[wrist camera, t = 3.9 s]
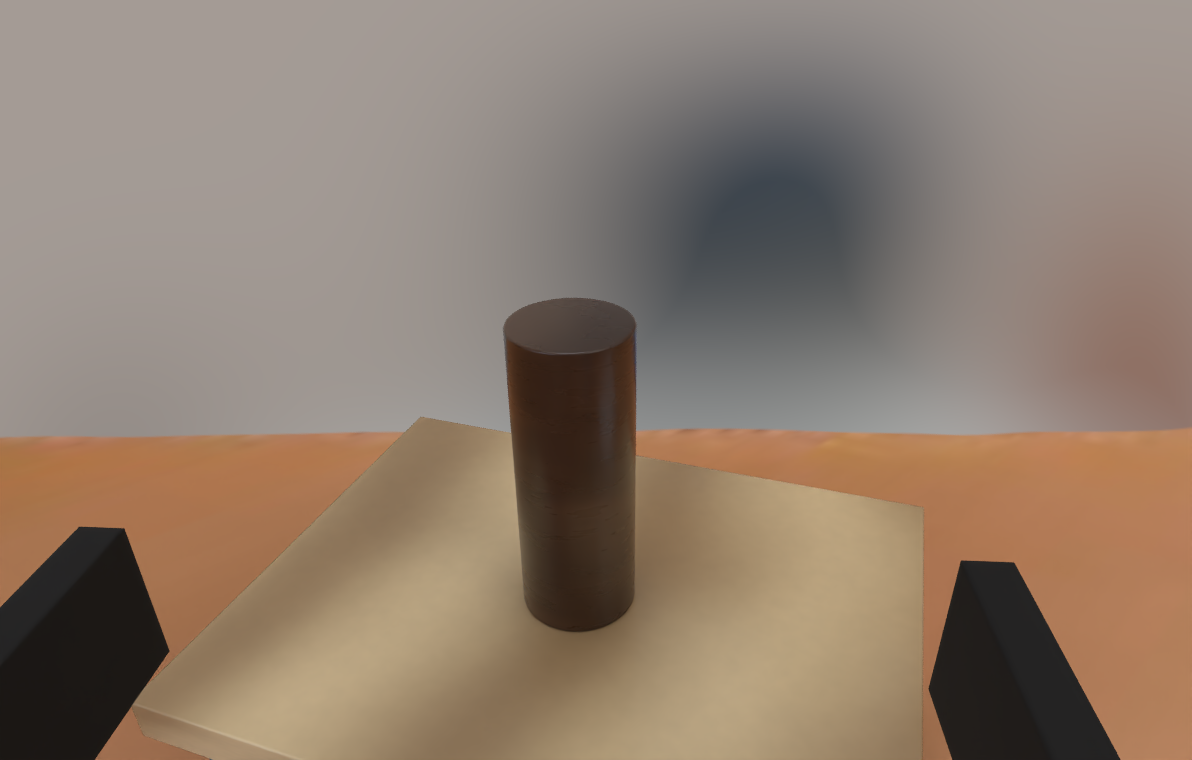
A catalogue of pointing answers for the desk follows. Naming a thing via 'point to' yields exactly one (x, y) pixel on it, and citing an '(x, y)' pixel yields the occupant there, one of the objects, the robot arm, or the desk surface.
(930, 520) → the desk surface
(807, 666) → the tan piece
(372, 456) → the desk surface
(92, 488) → the desk surface
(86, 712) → the robot arm
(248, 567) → the desk surface
